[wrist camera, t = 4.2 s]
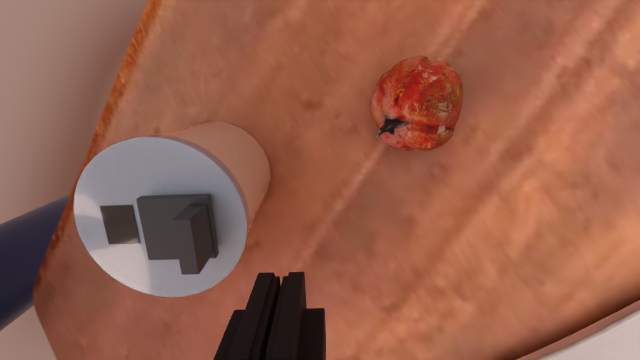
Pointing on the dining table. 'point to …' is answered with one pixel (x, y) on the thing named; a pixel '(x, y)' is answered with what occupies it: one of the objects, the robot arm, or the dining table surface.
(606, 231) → the dining table surface
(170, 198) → the slider
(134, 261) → the travel mug
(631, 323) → the square plate
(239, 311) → the robot arm
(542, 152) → the dining table surface
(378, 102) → the pomegranate
